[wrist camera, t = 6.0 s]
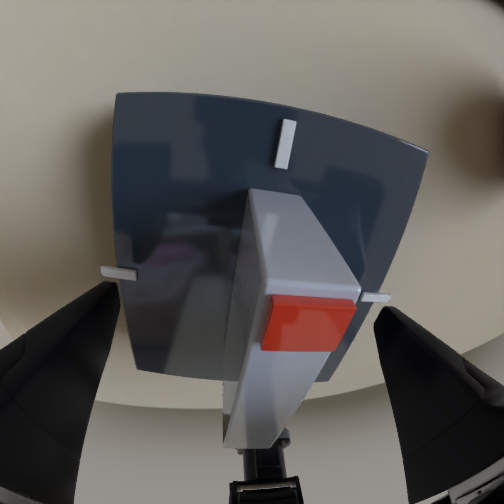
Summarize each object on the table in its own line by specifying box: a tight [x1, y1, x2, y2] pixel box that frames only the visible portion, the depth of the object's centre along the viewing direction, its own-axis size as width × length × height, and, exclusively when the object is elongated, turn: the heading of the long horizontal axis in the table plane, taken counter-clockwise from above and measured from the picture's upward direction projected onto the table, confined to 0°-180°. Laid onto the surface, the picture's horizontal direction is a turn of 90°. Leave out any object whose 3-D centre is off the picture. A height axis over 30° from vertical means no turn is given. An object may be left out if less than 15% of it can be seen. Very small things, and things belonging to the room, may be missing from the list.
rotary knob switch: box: [100, 92, 429, 382], centre depth 11 cm, size 12×11×3 cm
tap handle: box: [223, 188, 361, 449], centre depth 7 cm, size 7×2×5 cm, turn 171°
